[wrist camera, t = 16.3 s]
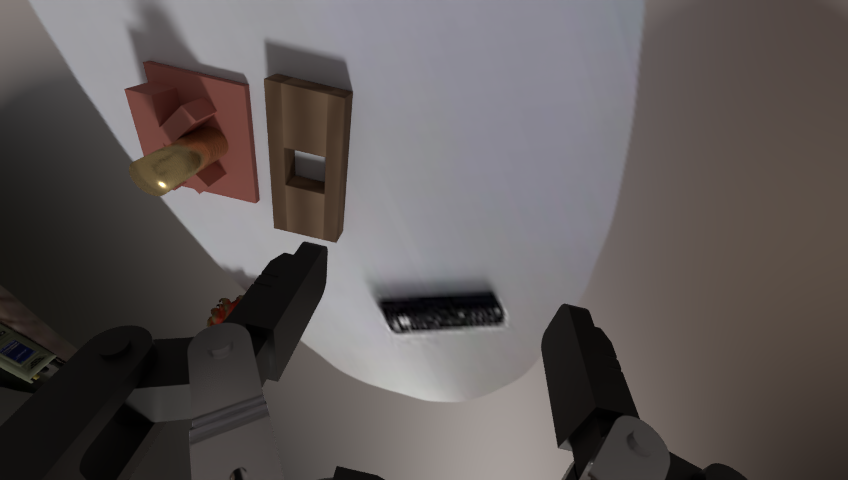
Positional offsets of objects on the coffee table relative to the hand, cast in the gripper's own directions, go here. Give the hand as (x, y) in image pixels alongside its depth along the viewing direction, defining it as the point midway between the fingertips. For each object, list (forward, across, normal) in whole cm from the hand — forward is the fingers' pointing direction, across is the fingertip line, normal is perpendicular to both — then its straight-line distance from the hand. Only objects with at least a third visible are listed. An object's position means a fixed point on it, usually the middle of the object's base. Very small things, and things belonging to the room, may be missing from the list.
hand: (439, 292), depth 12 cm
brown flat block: (+33, +17, +14) cm, 40 cm away
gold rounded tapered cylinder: (+32, +30, +14) cm, 46 cm away
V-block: (+33, +30, +14) cm, 47 cm away
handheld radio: (+34, +86, +77) cm, 120 cm away
